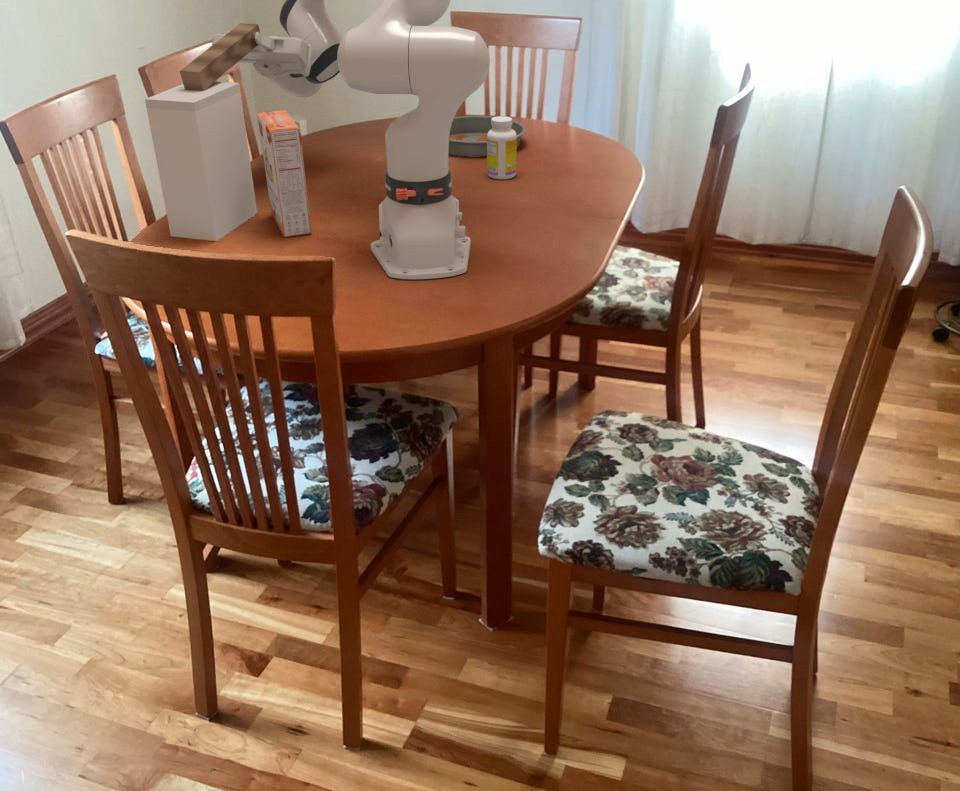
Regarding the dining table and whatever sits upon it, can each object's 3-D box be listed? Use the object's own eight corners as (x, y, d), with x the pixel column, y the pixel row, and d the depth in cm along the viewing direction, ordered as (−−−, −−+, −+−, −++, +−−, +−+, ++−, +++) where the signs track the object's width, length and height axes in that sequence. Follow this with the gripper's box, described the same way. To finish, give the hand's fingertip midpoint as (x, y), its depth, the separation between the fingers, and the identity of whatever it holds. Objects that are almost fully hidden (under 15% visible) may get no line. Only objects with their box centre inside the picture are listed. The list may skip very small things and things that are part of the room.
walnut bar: (244, 40, 188) (240, 23, 186) (262, 41, 187) (258, 24, 185) (184, 89, 171) (179, 71, 169) (203, 90, 170) (198, 72, 168)
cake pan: (495, 165, 217) (495, 146, 214) (409, 151, 227) (408, 132, 225) (542, 140, 235) (543, 122, 233) (460, 128, 246) (460, 110, 243)
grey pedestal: (214, 209, 191) (193, 80, 178) (257, 213, 189) (239, 83, 175) (170, 236, 178) (144, 99, 165) (216, 241, 176) (193, 102, 162)
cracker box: (269, 215, 188) (255, 111, 177) (298, 211, 190) (287, 108, 179) (281, 239, 177) (268, 129, 166) (312, 234, 178) (301, 126, 168)
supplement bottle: (517, 171, 212) (518, 115, 205) (515, 180, 206) (516, 123, 200) (488, 171, 212) (488, 114, 206) (485, 180, 207) (485, 122, 200)
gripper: (233, 42, 199) (198, 17, 186) (319, 46, 194) (289, 21, 180) (229, 71, 199) (194, 48, 186) (315, 76, 194) (285, 53, 181)
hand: (242, 35), depth 183 cm, fingers closed on walnut bar, 4 cm apart
